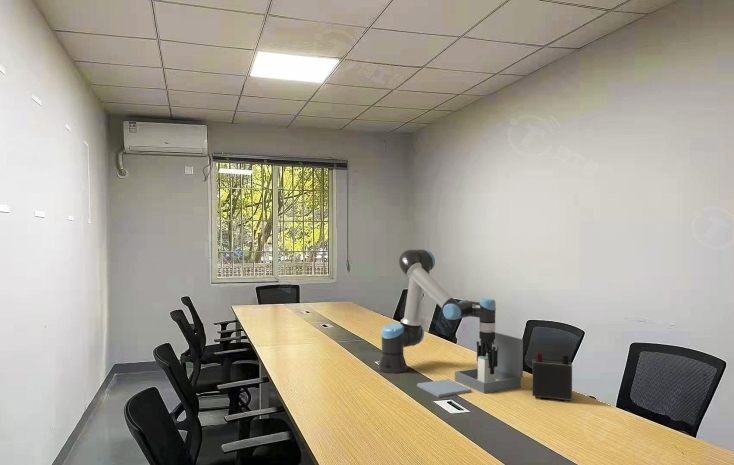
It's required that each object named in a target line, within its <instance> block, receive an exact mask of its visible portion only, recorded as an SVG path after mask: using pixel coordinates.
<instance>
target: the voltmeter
mask: <svg viewBox="0 0 734 465" xmlns="http://www.w3.org/2000/svg"><path fill="white" fill-rule="evenodd" d="M561 358H562V360H555V359H543V353H542V352H535V359H532V396H533V397H535V399H536V398H540V399H541V398H550V399H559V400H563V402H565V401H567V403H568V401H569V402H570V401H571V400H573V363H572V362H569V355H568V354H562V356H561Z"/></svg>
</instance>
